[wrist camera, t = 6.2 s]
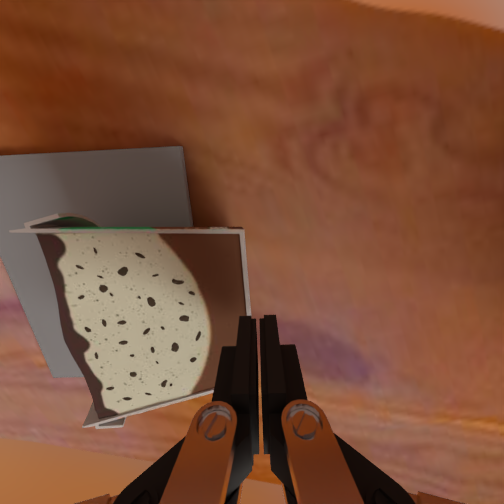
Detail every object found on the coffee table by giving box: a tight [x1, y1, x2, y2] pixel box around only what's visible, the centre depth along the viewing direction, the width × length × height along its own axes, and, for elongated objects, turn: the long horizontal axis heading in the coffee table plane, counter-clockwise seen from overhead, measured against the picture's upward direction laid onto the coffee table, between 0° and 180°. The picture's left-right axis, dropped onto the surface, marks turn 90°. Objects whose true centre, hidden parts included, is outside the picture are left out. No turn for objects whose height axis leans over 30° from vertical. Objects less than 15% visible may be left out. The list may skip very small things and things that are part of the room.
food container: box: [9, 213, 251, 429], centre depth 15 cm, size 12×6×10 cm
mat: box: [0, 146, 193, 378], centre depth 18 cm, size 14×18×1 cm
